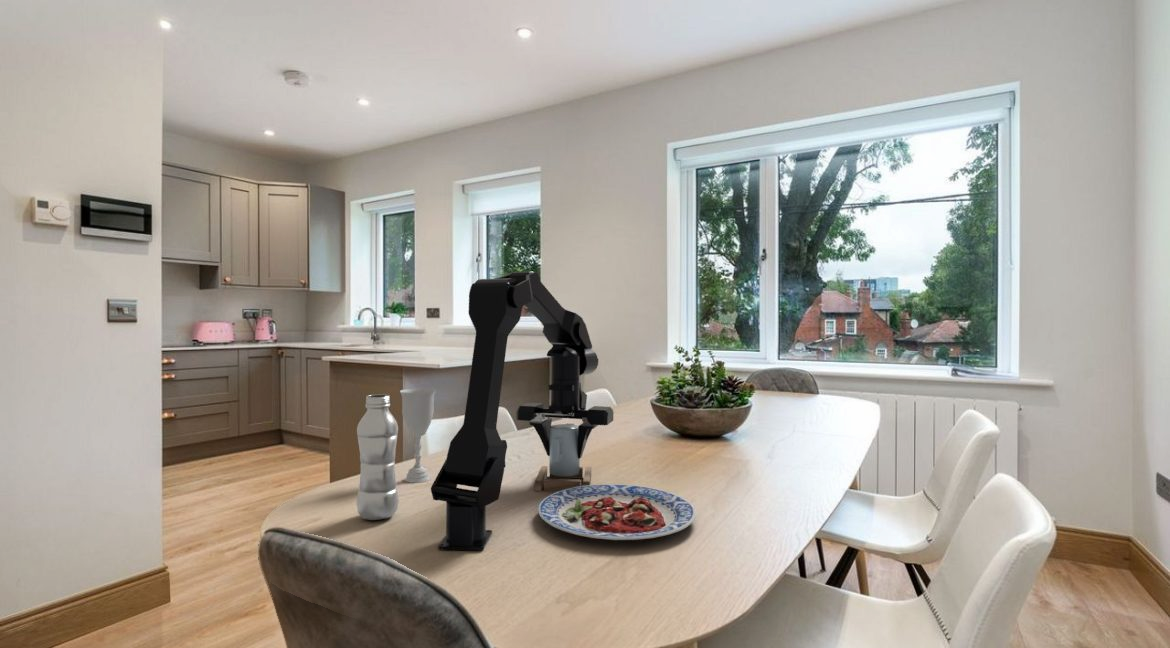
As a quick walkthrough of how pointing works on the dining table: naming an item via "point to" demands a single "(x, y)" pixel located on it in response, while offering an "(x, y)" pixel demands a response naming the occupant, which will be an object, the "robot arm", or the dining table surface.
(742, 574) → the dining table surface
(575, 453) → the jug
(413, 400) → the chalice
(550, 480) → the jug holder
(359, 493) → the plastic bottle
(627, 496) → the ceramic plate
